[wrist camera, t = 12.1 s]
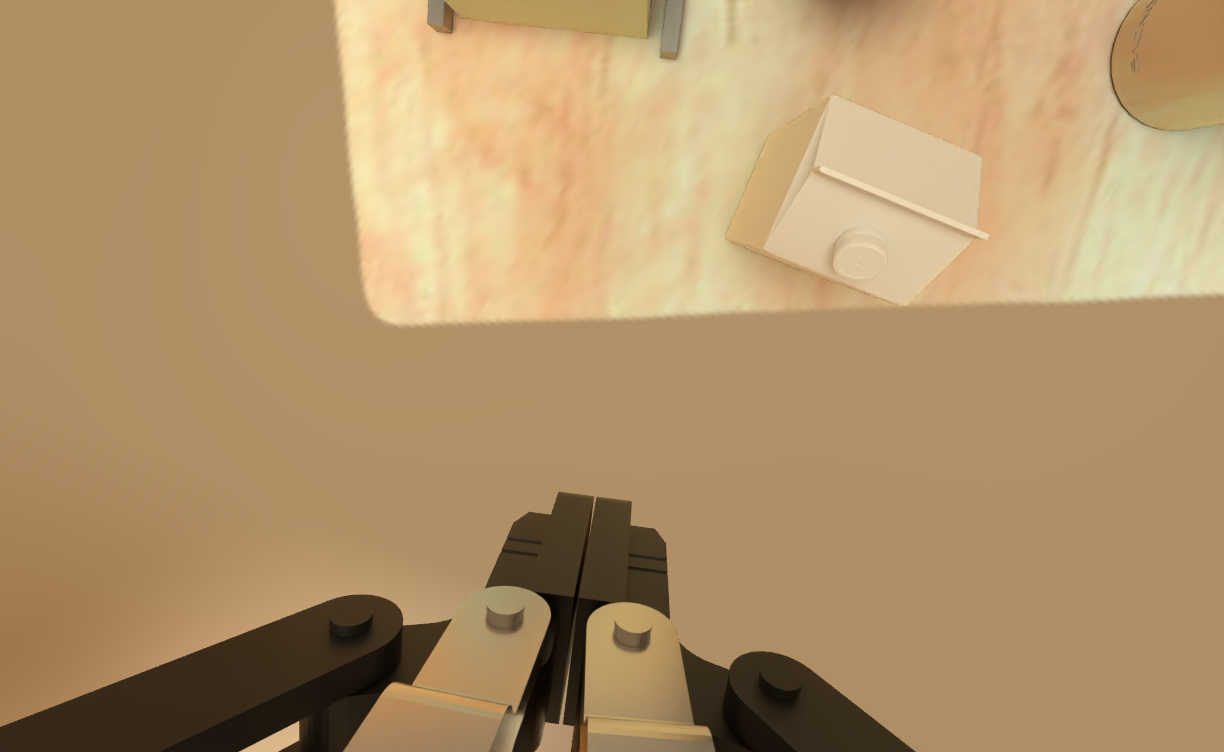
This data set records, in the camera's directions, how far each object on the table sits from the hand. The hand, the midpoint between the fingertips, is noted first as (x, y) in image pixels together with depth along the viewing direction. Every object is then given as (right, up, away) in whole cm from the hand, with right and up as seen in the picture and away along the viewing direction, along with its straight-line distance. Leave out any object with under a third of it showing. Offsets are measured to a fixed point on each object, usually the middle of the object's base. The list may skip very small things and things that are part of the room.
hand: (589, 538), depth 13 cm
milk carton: (+13, +15, +30) cm, 36 cm away
